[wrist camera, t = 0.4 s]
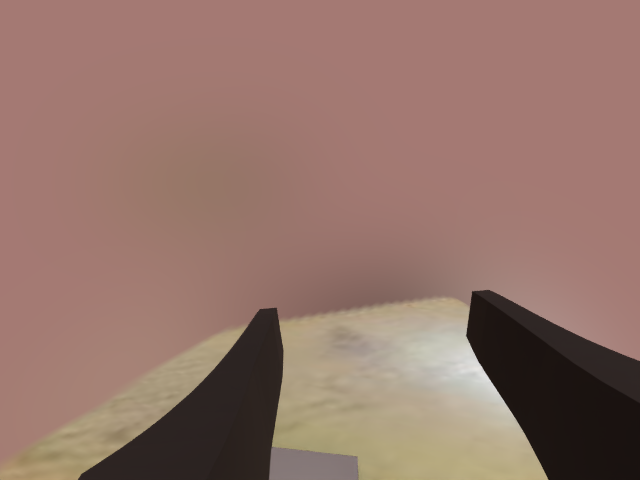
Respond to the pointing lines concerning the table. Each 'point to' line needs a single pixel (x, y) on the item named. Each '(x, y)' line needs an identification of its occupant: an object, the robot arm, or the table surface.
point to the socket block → (311, 465)
